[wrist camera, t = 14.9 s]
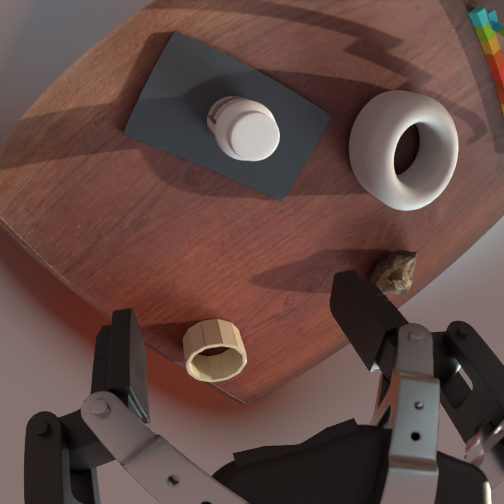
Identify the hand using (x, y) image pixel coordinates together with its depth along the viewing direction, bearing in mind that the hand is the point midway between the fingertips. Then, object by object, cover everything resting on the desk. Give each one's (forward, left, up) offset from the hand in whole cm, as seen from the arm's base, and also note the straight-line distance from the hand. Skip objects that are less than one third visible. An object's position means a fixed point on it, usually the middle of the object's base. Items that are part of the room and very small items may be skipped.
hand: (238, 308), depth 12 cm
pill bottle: (+2, +5, -25) cm, 25 cm away
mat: (+2, +5, -25) cm, 26 cm away
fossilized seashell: (+35, -3, -25) cm, 44 cm away
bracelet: (+14, -25, -25) cm, 38 cm away
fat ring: (+22, +13, -25) cm, 36 cm away
